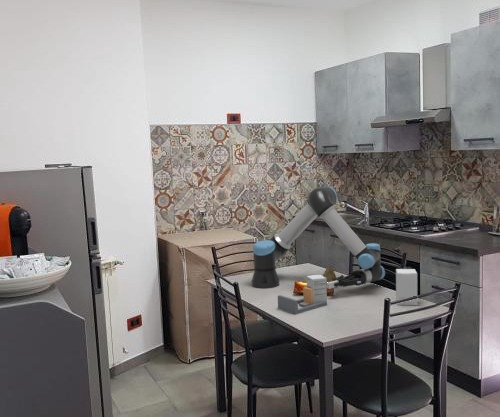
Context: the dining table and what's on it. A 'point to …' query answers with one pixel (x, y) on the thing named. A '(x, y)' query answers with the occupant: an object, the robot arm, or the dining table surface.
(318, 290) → the supplement box
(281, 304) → the grey l-shaped block
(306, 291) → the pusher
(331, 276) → the rock
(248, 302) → the dining table surface
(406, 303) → the supplement box
